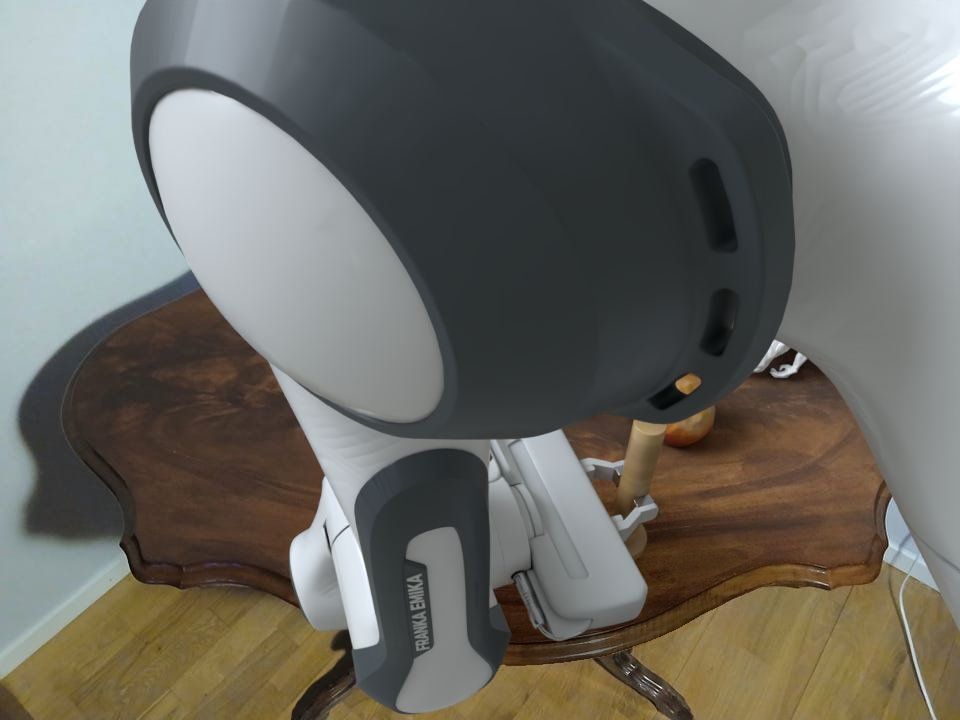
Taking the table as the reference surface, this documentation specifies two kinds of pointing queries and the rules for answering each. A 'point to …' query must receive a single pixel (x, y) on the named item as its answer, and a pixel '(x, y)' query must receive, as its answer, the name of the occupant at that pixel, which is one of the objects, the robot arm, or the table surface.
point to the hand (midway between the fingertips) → (642, 487)
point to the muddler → (638, 476)
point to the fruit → (689, 419)
